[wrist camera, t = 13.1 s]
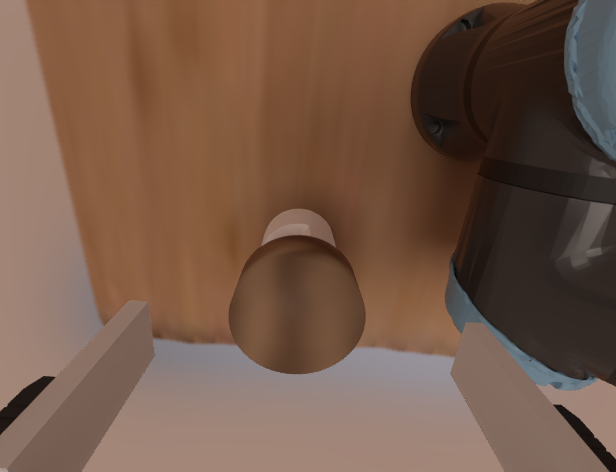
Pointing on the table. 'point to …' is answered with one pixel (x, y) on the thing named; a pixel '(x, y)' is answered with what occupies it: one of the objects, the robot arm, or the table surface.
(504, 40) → the robot arm
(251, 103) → the table surface
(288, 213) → the white stepped block
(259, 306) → the walnut lid
